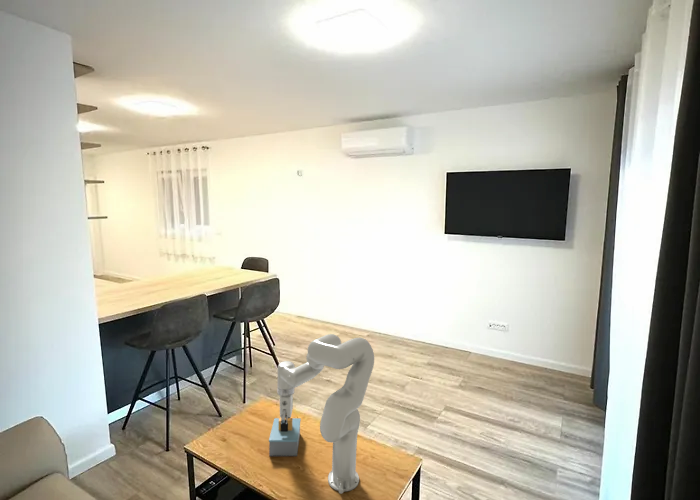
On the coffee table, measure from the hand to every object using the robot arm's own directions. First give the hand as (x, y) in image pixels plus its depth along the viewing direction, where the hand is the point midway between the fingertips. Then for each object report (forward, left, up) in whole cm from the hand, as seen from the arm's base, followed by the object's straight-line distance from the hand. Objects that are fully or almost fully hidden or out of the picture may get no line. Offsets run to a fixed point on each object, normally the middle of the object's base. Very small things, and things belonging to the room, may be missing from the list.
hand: (285, 424), depth 172 cm
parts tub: (0, 0, -10) cm, 10 cm away
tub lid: (0, 0, -4) cm, 4 cm away
